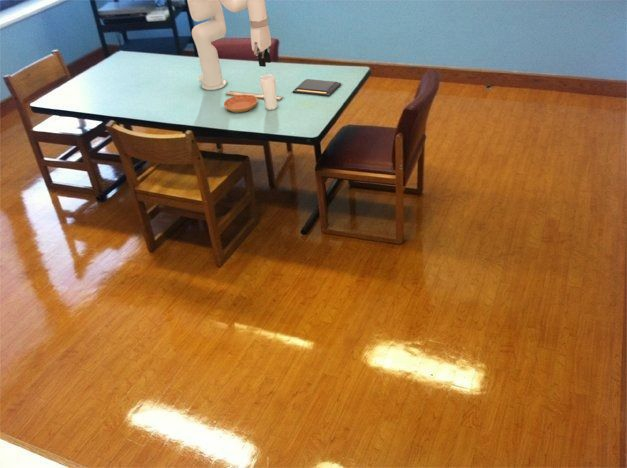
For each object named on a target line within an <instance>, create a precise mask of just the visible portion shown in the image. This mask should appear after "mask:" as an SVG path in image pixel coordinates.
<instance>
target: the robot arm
mask: <svg viewBox="0 0 627 468" xmlns="http://www.w3.org/2000/svg"><path fill="white" fill-rule="evenodd" d="M186 1H187V6H188V11H189V14H190V16H191V19H192V20H193V21H194V22H198V24H196V25H195V26H193V28H192V29H191V37H192V39H193V42H194V45H195V47H196V50H197V55H198V59H199V65H200V68H201V69H200V70H201V73H202V75H199V76H198V78H197V79H198V81H199V82H202V84H201V87H202V89H204V90H207V91H215V90H220V89H222V88H224V87H225V86H226V85H227V80H226V79H224V78H223V73H222V68H221V64H220V58H219V54H218V49H217V48H216V47H215V46H214V45H213V44H212V42H215V41H217V40H220V39H223V38H224V37H225V36H226V35H227V25H226V21H225V20H226V19H225V14H224V10H223V7H224V8H225V9H226V10H228V11H229V12H231V13H239V12H242V11H244V10H247V11H248V17H249V25H250V43H251V50H252V52H253V56H256V58H257V60H258V66H259V67H263V68H265V67H266V66H267V64H270V63H272V60H271V46H272V38H271V32H270V27H269V22H268V21H269V20H268V15H267V13H268V12H267V7H266V0H186ZM205 20H207V21H205ZM203 21H204V22H203ZM199 22H200V23H199Z"/></svg>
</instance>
